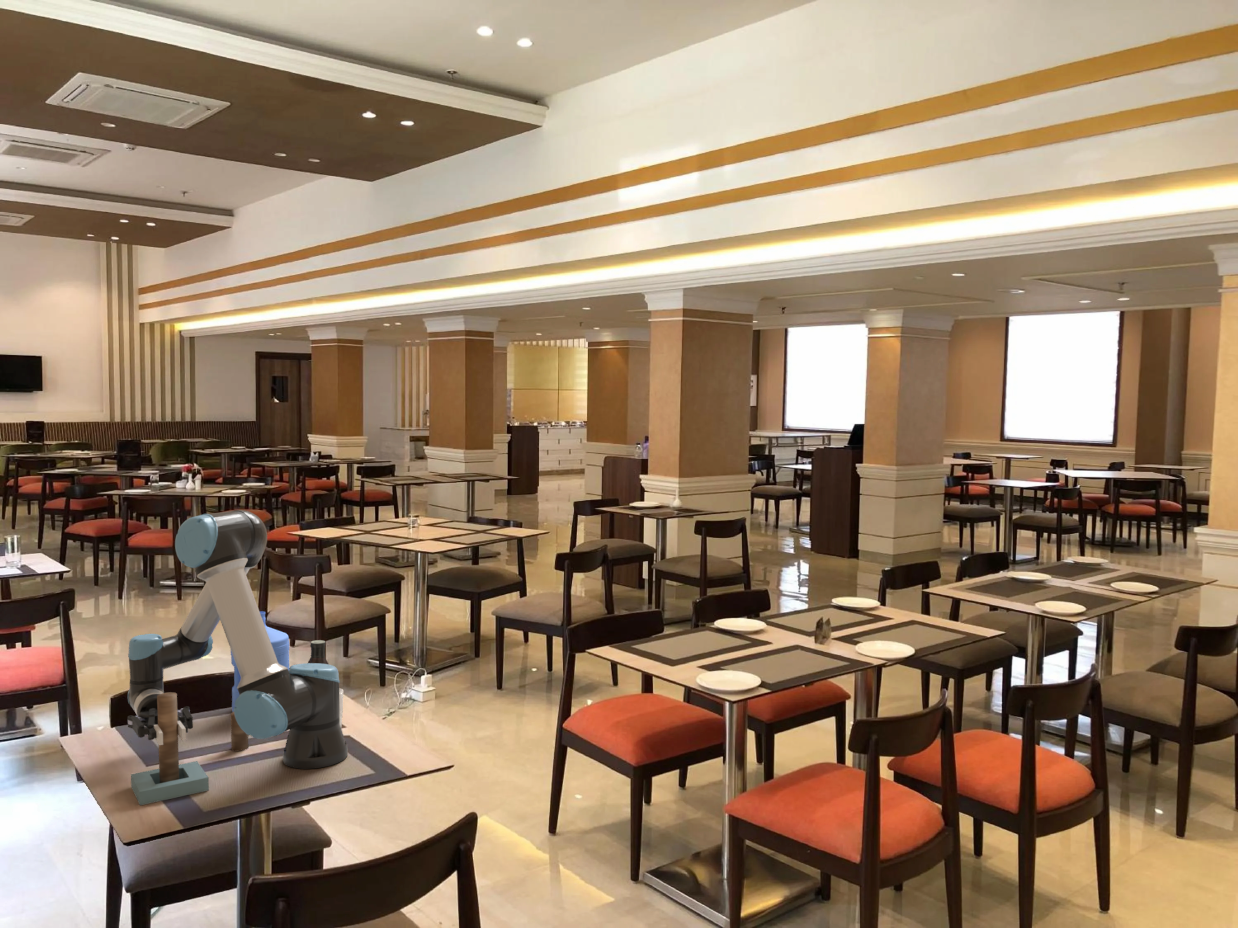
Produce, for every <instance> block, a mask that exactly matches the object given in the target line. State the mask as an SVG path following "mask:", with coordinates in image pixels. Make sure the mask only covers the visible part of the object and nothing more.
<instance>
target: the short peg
mask: <svg viewBox="0 0 1238 928" xmlns="http://www.w3.org/2000/svg"><path fill="white" fill-rule="evenodd" d="M230 743H231V744H230V746H231V751H232V752H242V751H246V750H248V749H249V735H248V734H246V733H245V732H244V731H243V730H242V729H241V728H240V726H239V725H238V723H237V721H236V718H235V715H234V712H233V711H232V712H230ZM247 748H248V749H247ZM245 749H246V750H245Z"/></svg>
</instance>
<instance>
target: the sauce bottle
mask: <svg viewBox="0 0 1238 928" xmlns="http://www.w3.org/2000/svg"><path fill="white" fill-rule="evenodd" d="M325 650H326V641H325V640H321V639H319V640H312V641H310V658H309V659H308V661H307V663H320V664H329V662H328V661H327V659H326V654H325V653H326V651H325Z"/></svg>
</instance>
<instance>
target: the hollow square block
mask: <svg viewBox="0 0 1238 928" xmlns="http://www.w3.org/2000/svg"><path fill="white" fill-rule="evenodd" d="M209 778H210V777H209V776H208V774H207V773H206V772H205V770H204V769H203V767H202V766H201V765H200V762H198V760H195V761H190V762H185V763H181V764H179V780H174V781H169V782H164V783H160V778H159V768H155V769H150V770H146V771H141V772H135V773H130V785H131V786H130V787H131V790H132V792H133V793H134V796H135V798H136V800H137V802H138V805H139V806H143V805H148V804H153V803H157V802H163V801H166V800H170V799H175V798H181V797H185V796H189V795H194V794H198V793H203V792H207V791H209V790H210V787H209V785H210V783H209Z"/></svg>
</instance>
